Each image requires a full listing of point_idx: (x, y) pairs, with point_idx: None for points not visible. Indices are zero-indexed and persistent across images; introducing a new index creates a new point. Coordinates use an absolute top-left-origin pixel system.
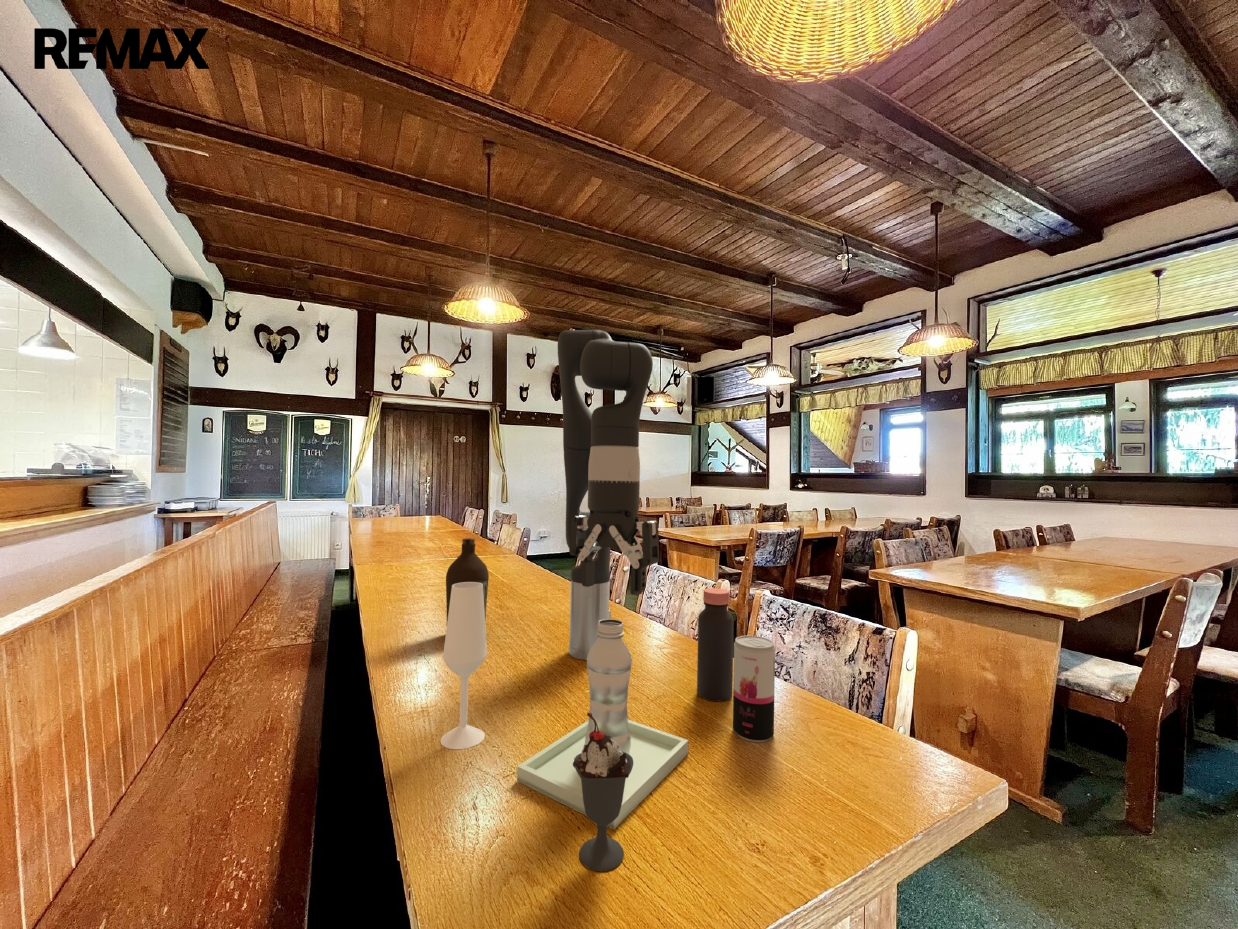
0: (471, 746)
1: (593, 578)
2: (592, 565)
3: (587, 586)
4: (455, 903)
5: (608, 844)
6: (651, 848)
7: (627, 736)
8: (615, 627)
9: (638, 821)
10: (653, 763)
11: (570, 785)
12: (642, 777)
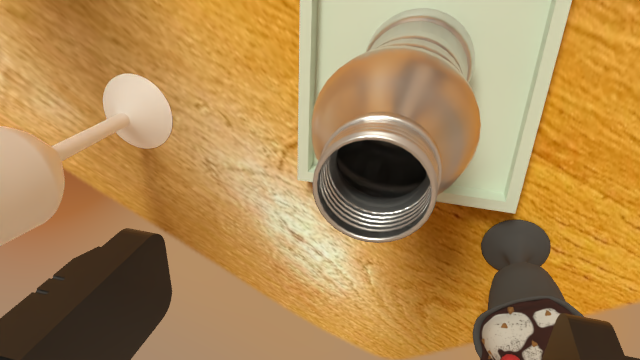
0: (171, 126)
1: (135, 266)
2: (63, 356)
3: (169, 291)
4: (394, 347)
5: (527, 255)
6: (587, 210)
7: (470, 68)
8: (420, 226)
9: (545, 166)
10: (521, 1)
11: None
12: (514, 65)
